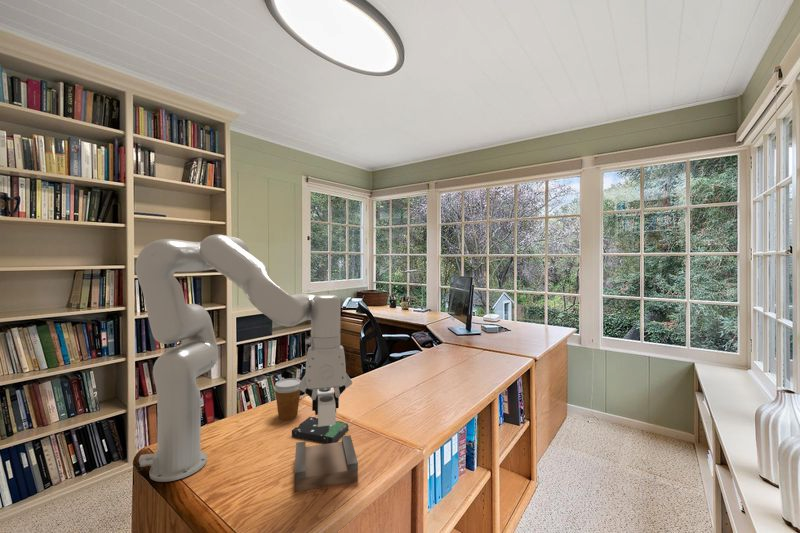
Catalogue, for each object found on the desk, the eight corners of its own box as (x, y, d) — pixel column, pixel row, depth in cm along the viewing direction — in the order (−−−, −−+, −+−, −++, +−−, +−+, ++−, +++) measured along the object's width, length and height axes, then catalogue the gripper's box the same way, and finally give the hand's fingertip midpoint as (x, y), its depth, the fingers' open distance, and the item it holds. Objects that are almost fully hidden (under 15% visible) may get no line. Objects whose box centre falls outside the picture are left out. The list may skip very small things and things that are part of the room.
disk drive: (290, 439, 103) (333, 446, 99) (290, 430, 103) (333, 437, 99) (309, 424, 113) (349, 430, 109) (309, 416, 113) (348, 421, 109)
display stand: (294, 491, 78) (294, 472, 78) (296, 458, 92) (296, 442, 92) (357, 481, 82) (357, 462, 82) (350, 450, 96) (350, 435, 96)
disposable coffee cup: (277, 411, 122) (277, 378, 122) (304, 410, 123) (304, 377, 123) (270, 423, 112) (270, 387, 112) (299, 422, 113) (299, 386, 113)
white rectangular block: (318, 426, 80) (318, 404, 80) (316, 403, 93) (316, 384, 93) (335, 424, 81) (335, 402, 81) (331, 402, 94) (331, 383, 94)
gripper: (291, 347, 81) (291, 422, 81) (359, 343, 86) (359, 414, 86) (292, 340, 88) (292, 409, 88) (355, 337, 93) (355, 402, 93)
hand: (325, 411), depth 87 cm, fingers closed on white rectangular block, 4 cm apart
